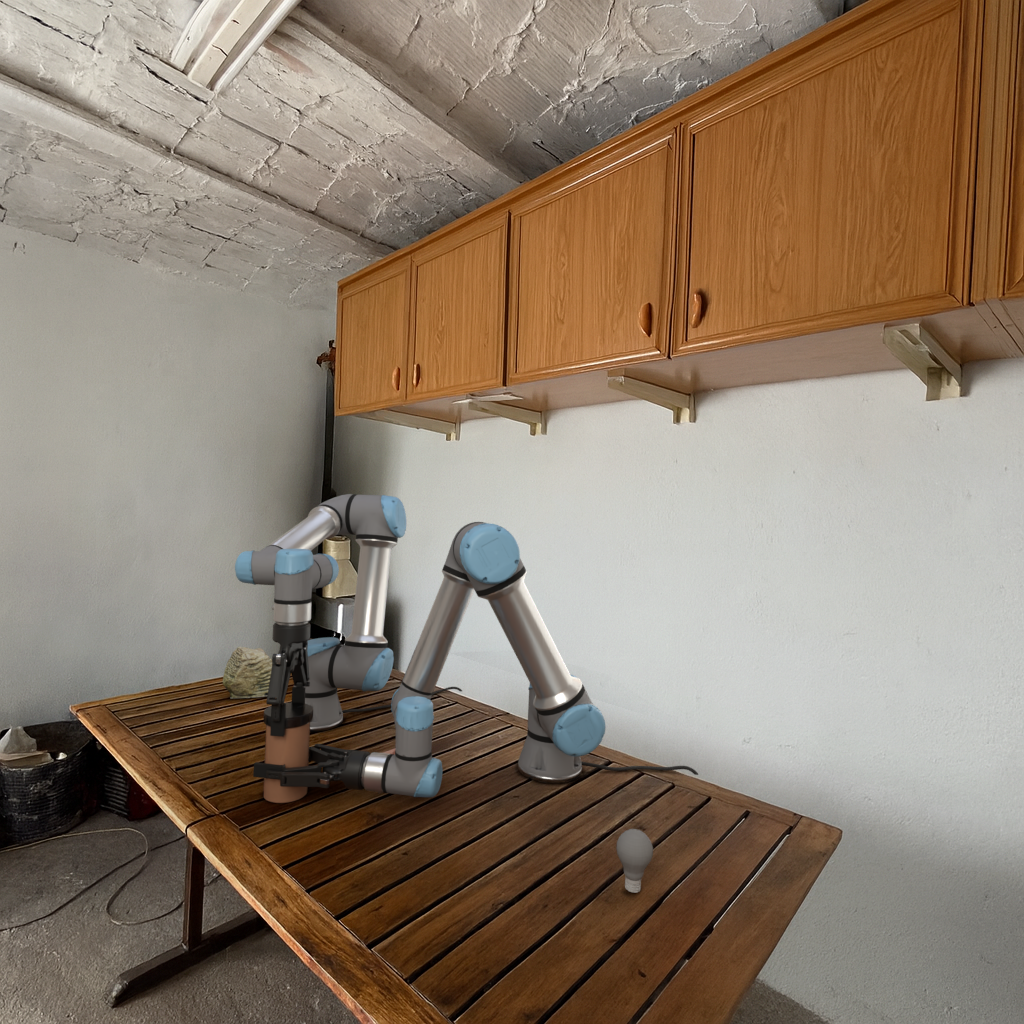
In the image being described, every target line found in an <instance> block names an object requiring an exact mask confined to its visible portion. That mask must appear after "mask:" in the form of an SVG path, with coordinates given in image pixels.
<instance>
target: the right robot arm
mask: <svg viewBox="0 0 1024 1024" xmlns="http://www.w3.org/2000/svg"><path fill="white" fill-rule="evenodd" d="M451 541H452V542H451V544H450V547H449V551H448V553H447V555H446V559H445V561H444V564H443V567H442V569H441V572H442V575H443V579H442V581H441V584H440V586H439V587H438V588H439V589H438V591H437V593H436V596H435V599H434V601H433V603H432V606H431V608H430V611H429V612H428V616H427V619H426V620H425V623H424V626H423V627H422V631H421V633H420V635H419V638H418V640H417V643H416V645H415V648H414V651H413V653H412V656H411V658H410V661H409V663H408V665H407V668H406V670H405V673H404V674H403V678H402V681H401V683H400V685H399V687H398V688H397V689H396V690H395V691H394V693H393V695H392V697H391V701H390V705H391V707H390V710H391V714H392V717H393V722H394V727H395V748H396V749H395V755H394V754H387V753H383V752H377V751H372V752H370V751H364V750H354V749H344V748H340V747H335V746H332V745H331V746H330V745H326V744H321V743H315V744H314V746H309V763H311V762H313V763H315V764H316V765H309V766H303V767H291V768H285V765H276V764H267V763H265V762H259V761H258V762H257V761H255V762H254V763H253V774H252V778H261V779H264V778H269V779H277V780H280V786H282V787H308V788H322V789H329V788H330V786H331V782H342V783H343V785H344V787H345V788H346V789H347V790H354V791H363V790H365V791H367V792H375V793H378V794H379V795H380V794H382V793H383V794H392V795H399V796H406V797H407V796H408V797H413V798H435V797H436V796H437V794H438V793H439V791H440V789H441V785H442V781H443V772H444V771H443V770H444V769H443V762H442V760H441V759H439V758H436V757H433V753H432V752H433V750H432V748H433V746H432V745H433V732H434V731H433V729H434V728H433V727H434V720H435V715H434V703H433V701H432V700H431V699H432V697H433V695H432V694H433V692H434V691H435V688H436V686H437V683H438V681H439V678H440V676H441V674H442V671H443V669H444V666H445V664H446V662H447V659H448V657H449V654H450V652H451V649H452V647H453V644H454V642H455V639H456V637H457V634H458V633H459V630H460V626H461V624H462V621H463V619H464V617H465V614H466V612H467V609H468V607H469V606H470V605H469V604H470V602H471V599H472V597H473V594H474V592H475V594H476V596H477V598H480V599H484V600H486V601H488V603H489V605H490V607H491V610H492V611H493V613H494V615H495V617H496V620H497V621H498V623H499V625H500V627H501V630H502V631H503V633H504V635H505V637H506V638H507V641H508V642H509V643H508V644H510V647H511V648H512V650H513V652H514V654H515V657H516V658H517V661H518V662H519V664H520V666H521V668H522V670H523V672H524V674H525V676H526V678H527V680H528V681H529V686H528V705H527V730H526V731H527V732H526V739H525V741H524V744H523V746H522V749H521V751H520V754H519V756H518V760H517V769H518V771H519V773H520V774H521V775H522V776H524V777H525V778H527V779H529V780H532V781H535V782H539V783H545V784H564V783H571V782H574V781H575V780H577V779H579V778H580V777H581V775H582V772H583V766H585V767H591V768H595V769H596V768H597V769H601V770H605V771H610V772H625V771H635V770H637V771H638V770H639V771H640V770H645V771H660V772H661V771H662V772H668V771H679V770H685V771H689V772H691V773H692V774H693V775H696V776H699V773H698V772H697V771H696V770H695V769H694V768H692V767H690V766H687V765H672V766H654V765H651V766H650V765H630V766H619V767H618V766H617V767H614V766H607V765H602V764H598V763H592V762H588V761H587V762H586V761H582V758H581V757H584V756H587V755H590V754H591V753H592V752H593V751H595V750H596V749H597V748H598V747H599V746H600V745H601V743H602V741H603V739H604V736H605V734H606V720H605V717H604V715H603V713H602V711H601V710H600V709H599V708H598V706H596V705H595V704H594V703H593V702H592V699H591V698H590V695H589V694H588V692H587V689H586V687H585V686H584V684H583V682H582V680H581V679H580V678H579V677H578V676H576V675H574V674H571V673H570V671H569V669H568V667H567V665H566V663H565V662H564V659H563V657H562V655H561V653H560V651H559V649H558V646H557V645H556V643H555V641H554V639H553V637H552V635H551V633H550V631H549V629H548V627H547V625H546V623H545V621H544V619H543V617H542V615H541V613H540V611H539V610H538V607H537V605H536V603H535V600H534V599H533V597H532V595H531V593H530V591H529V589H528V587H527V585H526V583H525V580H526V579H525V578H526V577H527V576H526V575H527V573H528V572H527V569H526V568H525V565H524V563H523V560H522V559H521V551H520V546H519V543H518V541H517V540H516V538H515V537H514V535H513V533H511V532H510V531H509V530H507V528H505V527H503V526H501V525H499V524H497V523H490V522H488V523H487V522H484V521H472V522H469V523H467V524H465V525H463V526H462V527H461V528H460V529H458V531H456V533H455V535H454V537H453V539H452V540H451Z"/></svg>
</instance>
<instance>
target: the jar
mask: <svg viewBox="0 0 1024 1024" xmlns="http://www.w3.org/2000/svg"><path fill="white" fill-rule="evenodd" d="M270 731H271V727H270V726H267V725H266V724H265V740H264V741H265V743H264V763H267V764H276V765H285V768H291V767H303V766H310V765H309V764H310V762H309V747H310V738H311V737H310V736H311V732H310V722H309V723H307V724H305V725H302V726H298V727H291V728H285V736H270ZM308 788H309V787H282V786H280V780H277V779H269V778H263V793H262V794H263V798H264V800H265V801H268V802H270V803H276V804H285V803H291V802H295V801H298V800H300V799H302V798H304V797H305V796H307V793H308V792H309V791H308V790H309V789H308Z"/></svg>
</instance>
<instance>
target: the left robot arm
mask: <svg viewBox="0 0 1024 1024" xmlns="http://www.w3.org/2000/svg"><path fill="white" fill-rule="evenodd" d="M406 531H407V514H406V509H405V505H404V504H403V501H402V500H401V499H400V497H399V498H398V497H397V496H394V495H385V494H356V493H347V494H341V495H337V496H335V497H332V498H330V499H327V500H325V501H323V502H321V503H320V504H318V505H316V506H315V507H313V508H312V509H311V510H310V511H309V513H308V514H307V517H305V518H304V519H302V520H301V521H300V522H298V523H297V524H295V525H294V526H293V527H291V528H290V529H289V530H287V531H286V532H285V533H283V534H281V535H280V536H278V537H277V538H276V539H274V540H273V541H272V542H270V543H269V544H267V545H266V546H265V547H264V548H262V549H261V550H254V549H253V550H245V551H242V552H241V553H239V555H238V556H237V558H236V560H235V563H234V572H235V577H236V579H237V580H238V581H239V582H240V583H242V584H243V583H244V584H249V585H253V586H256V585H263V586H274V598H273V605H272V606H271V610H272V611H273V621H274V623H273V624H272V641H273V642H274V643H277V644H279V650H278V653H272V657H271V659H272V670H271V676H270V682H269V689H268V695H267V696H266V702H265V703H266V705H268V706H269V705H270V706H271V731H270V736H285V719H286V704H285V703H286V702H285V700H286V695H287V691H288V687H289V683H290V680H291V679H290V678H292V683H293V687H292V688H291V702H290V703H292V702H295V703H305V704H308V705H311V706H312V707H313V719H312V721H310V733H316V732H325V731H329V730H332V729H335V728H337V727H339V726H340V725H342V723H343V722H344V714H345V713H347V714H348V713H361V712H369V711H376V710H380V709H382V710H383V709H388V708H391V704H385V705H379V706H373V707H366V708H352V709H342V706H341V702H340V699H339V695H338V689H342V690H343V689H345V690H352V691H353V690H356V691H362V692H379V691H381V690H382V689H383V688H384V687H385V686H386V684H387V683H388V681H389V679H390V676H391V675H392V670H393V668H394V667H393V666H394V661H395V657H394V651H393V650H392V649H391V648H390V647H388V644H389V643H388V640H387V638H386V637H385V636H384V628H385V617H386V606H387V599H388V588H389V576H390V567H391V555H392V550H393V549H394V548H395V547H396V546H397V545H398V540H399V539H401V538H403V537H404V536H405V534H406ZM337 535H351V536H352V535H353V536H355V542H356V543H357V545H358V546H359V548H360V549H359V556H358V567H357V577H356V586H355V595H354V606H353V614H352V623H351V633H350V634H349V635H348V636H347V637H346V638H344V644H341V641H340V639H339V638H338V637H334V636H331V637H330V636H327V637H326V636H325V637H318V638H313V639H311V623H310V621H311V619H312V594H313V590H316V589H320V588H321V589H322V588H324V587H327V586H329V585H331V584H332V583H334V582H335V581H336V579H338V576H339V572H340V569H339V563H338V561H337V560H336V559H335V557H334V556H332V555H330V554H328V553H316V554H313V550H314V549H315V548H316V547H318V546H319V545H320V544H321V543H323V542H324V541H325V540H328V539H329V540H330V539H333V538H334V537H336V536H337ZM449 690H457V691H458V692H463V690H462V689H461V688H460V687H458V686H448V687H444V688H442V689H438V690H434V691H433V694H432V696H434V695H435V694H439V693H444V692H446V691H449Z"/></svg>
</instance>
